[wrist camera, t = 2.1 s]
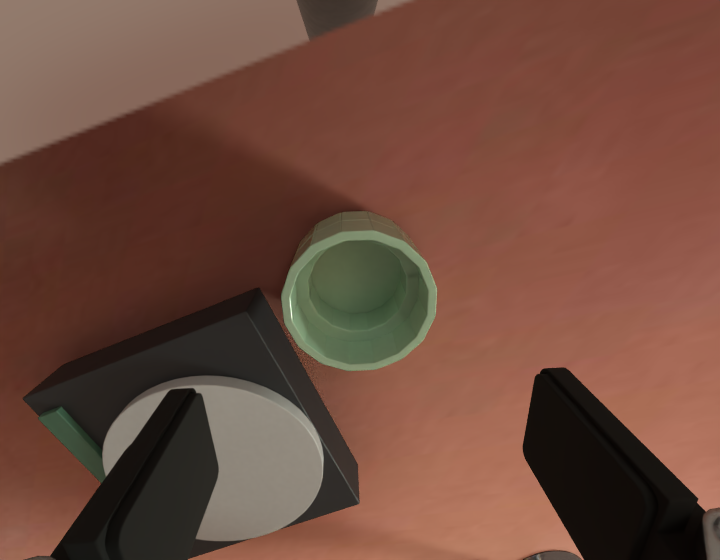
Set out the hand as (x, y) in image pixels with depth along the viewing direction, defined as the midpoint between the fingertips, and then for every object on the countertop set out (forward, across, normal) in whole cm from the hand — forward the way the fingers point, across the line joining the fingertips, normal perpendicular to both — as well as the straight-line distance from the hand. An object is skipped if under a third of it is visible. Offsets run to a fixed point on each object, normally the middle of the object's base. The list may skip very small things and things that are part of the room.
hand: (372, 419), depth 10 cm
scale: (+11, +9, +9) cm, 17 cm away
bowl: (+11, 0, -1) cm, 11 cm away
